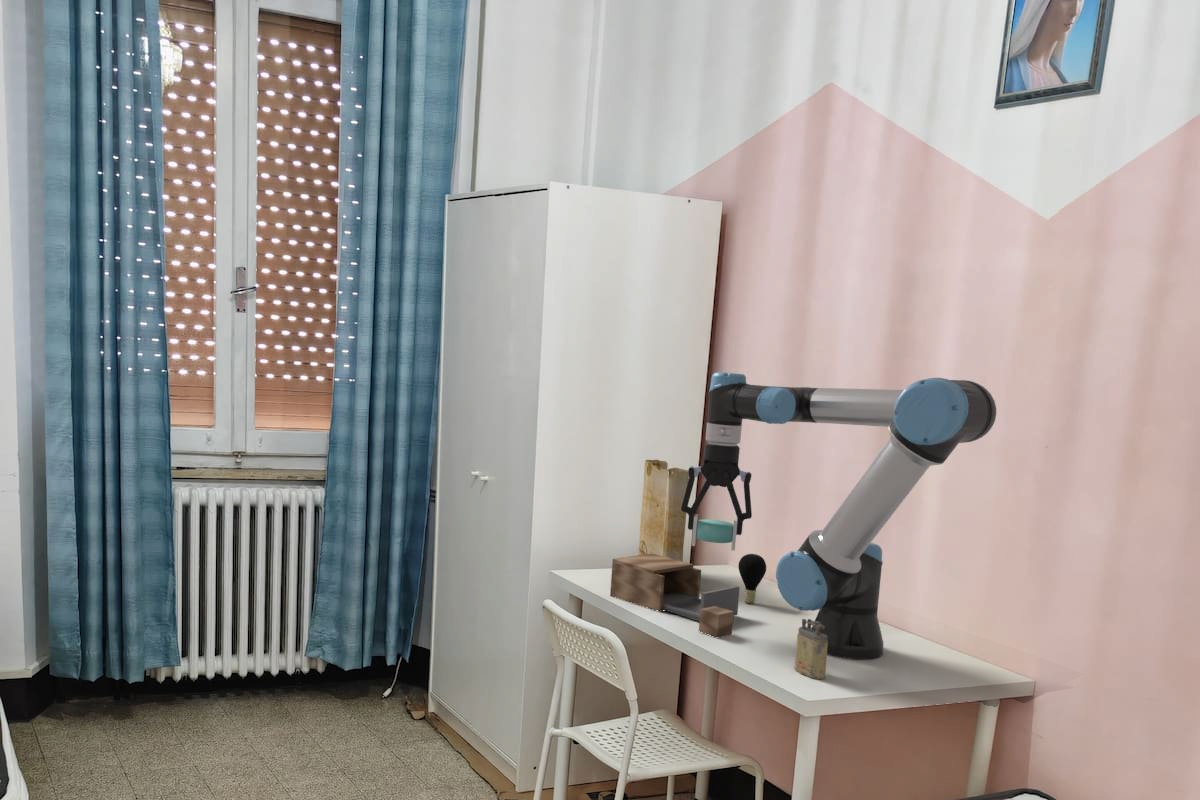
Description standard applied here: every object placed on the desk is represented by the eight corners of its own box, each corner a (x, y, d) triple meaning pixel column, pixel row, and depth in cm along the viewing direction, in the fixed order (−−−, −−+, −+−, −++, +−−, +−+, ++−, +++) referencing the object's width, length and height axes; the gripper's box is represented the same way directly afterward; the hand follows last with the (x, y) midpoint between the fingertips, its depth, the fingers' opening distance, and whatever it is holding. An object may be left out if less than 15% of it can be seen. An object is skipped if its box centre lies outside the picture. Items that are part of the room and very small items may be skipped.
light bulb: (755, 608, 233) (759, 558, 232) (730, 602, 237) (734, 553, 236) (768, 603, 238) (772, 555, 238) (743, 598, 242) (747, 550, 242)
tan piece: (634, 566, 269) (642, 458, 268) (656, 566, 271) (664, 459, 269) (659, 587, 247) (668, 469, 245) (682, 588, 248) (691, 470, 246)
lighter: (829, 678, 184) (833, 626, 184) (813, 680, 183) (817, 628, 182) (804, 666, 191) (808, 616, 190) (789, 668, 189) (793, 617, 188)
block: (731, 634, 209) (733, 611, 209) (716, 638, 206) (718, 614, 206) (713, 628, 213) (715, 605, 213) (698, 632, 209) (700, 609, 209)
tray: (737, 614, 224) (739, 586, 224) (702, 622, 215) (704, 593, 215) (678, 597, 237) (680, 570, 237) (643, 603, 228) (645, 576, 228)
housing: (698, 603, 233) (701, 566, 233) (659, 611, 224) (662, 573, 223) (649, 588, 245) (652, 553, 244) (610, 595, 235) (612, 558, 235)
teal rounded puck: (732, 537, 217) (734, 522, 216) (732, 544, 209) (733, 528, 209) (696, 533, 218) (698, 518, 218) (694, 540, 210) (696, 524, 210)
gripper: (673, 440, 210) (664, 545, 211) (771, 449, 207) (761, 555, 208) (676, 437, 217) (667, 538, 219) (770, 446, 214) (760, 548, 216)
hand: (713, 546), depth 213 cm, fingers closed on teal rounded puck, 8 cm apart
